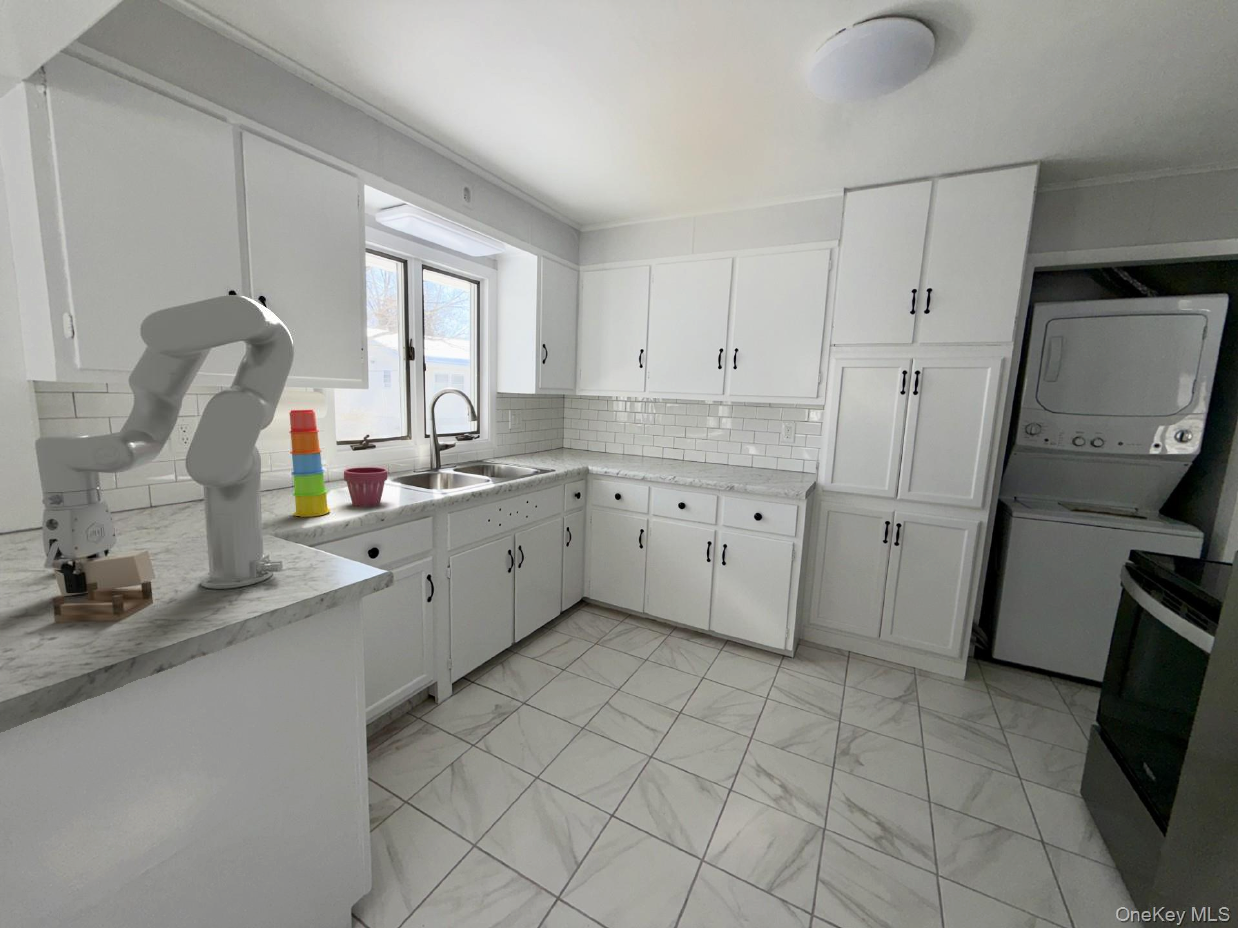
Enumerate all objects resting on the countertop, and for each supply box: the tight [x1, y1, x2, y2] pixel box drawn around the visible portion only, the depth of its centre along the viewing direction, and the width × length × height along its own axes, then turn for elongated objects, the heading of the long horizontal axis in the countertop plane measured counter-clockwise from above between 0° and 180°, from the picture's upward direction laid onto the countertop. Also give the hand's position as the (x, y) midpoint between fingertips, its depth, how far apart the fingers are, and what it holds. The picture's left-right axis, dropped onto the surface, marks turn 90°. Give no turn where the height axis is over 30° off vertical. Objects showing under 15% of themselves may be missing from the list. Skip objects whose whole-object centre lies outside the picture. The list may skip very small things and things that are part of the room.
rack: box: [52, 580, 154, 623], centre depth 89 cm, size 10×7×4 cm
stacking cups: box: [289, 409, 331, 518], centre depth 160 cm, size 10×10×35 cm
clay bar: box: [52, 550, 156, 597], centre depth 97 cm, size 14×4×6 cm, turn 99°
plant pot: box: [343, 466, 388, 508], centre depth 178 cm, size 14×14×13 cm
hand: (86, 587), depth 97 cm, fingers closed on clay bar, 3 cm apart
